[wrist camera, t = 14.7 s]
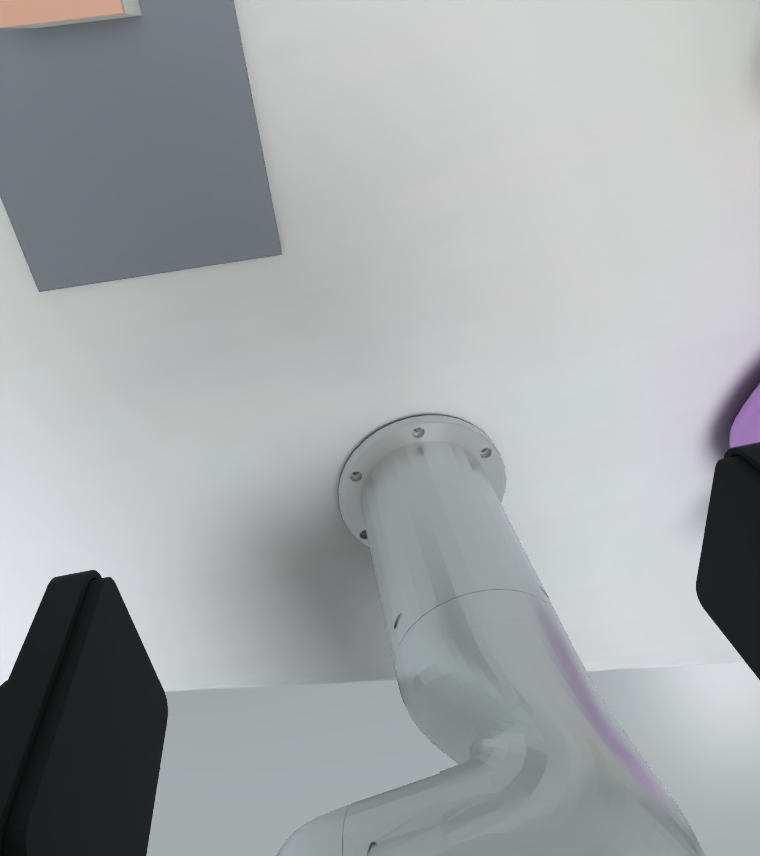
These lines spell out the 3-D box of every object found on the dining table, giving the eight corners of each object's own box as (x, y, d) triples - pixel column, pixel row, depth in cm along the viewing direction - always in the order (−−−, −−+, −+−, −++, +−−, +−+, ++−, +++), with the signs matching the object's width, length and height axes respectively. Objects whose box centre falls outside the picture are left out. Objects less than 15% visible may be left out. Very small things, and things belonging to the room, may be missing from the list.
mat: (281, 252, 39) (281, 254, 38) (41, 289, 38) (39, 291, 37) (168, -340, 26) (166, -345, 26) (-200, -308, 25) (-206, -313, 25)
